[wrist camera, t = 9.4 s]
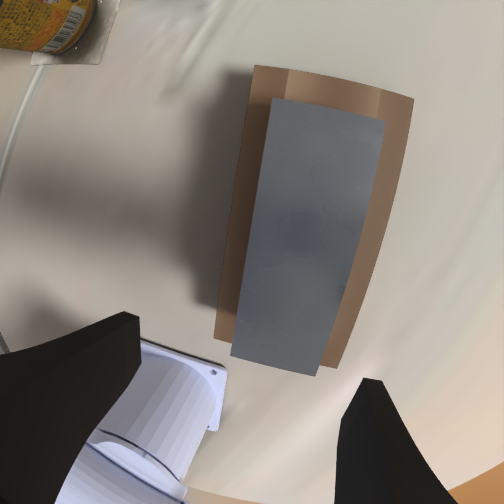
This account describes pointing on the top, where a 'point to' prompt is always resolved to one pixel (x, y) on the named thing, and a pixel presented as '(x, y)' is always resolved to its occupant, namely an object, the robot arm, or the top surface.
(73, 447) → the robot arm
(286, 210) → the tall grey block
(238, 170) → the brown slotted tray
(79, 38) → the condiment
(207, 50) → the top surface
